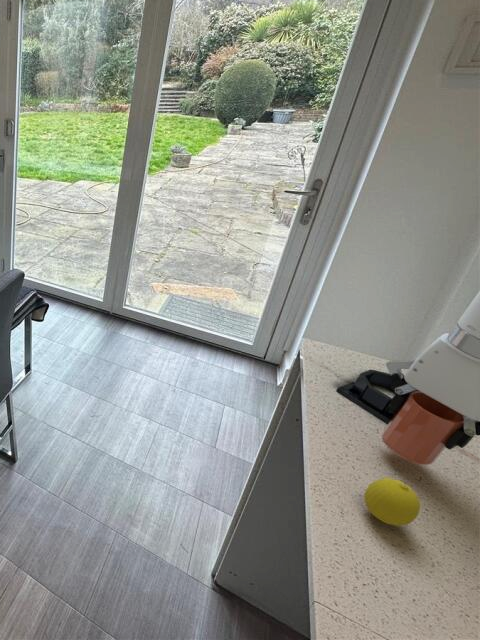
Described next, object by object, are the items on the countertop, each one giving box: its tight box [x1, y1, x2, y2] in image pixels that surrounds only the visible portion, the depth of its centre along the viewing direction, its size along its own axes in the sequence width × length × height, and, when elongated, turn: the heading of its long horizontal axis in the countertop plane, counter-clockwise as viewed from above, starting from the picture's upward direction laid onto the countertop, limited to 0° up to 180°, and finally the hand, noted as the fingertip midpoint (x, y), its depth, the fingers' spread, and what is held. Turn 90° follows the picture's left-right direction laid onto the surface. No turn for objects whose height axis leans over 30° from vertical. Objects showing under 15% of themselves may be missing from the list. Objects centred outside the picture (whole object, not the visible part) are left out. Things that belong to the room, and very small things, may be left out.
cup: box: [380, 391, 464, 466], centre depth 69 cm, size 7×7×10 cm
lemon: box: [363, 477, 421, 527], centre depth 62 cm, size 6×6×8 cm
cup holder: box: [335, 369, 419, 425], centre depth 83 cm, size 11×11×4 cm
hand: (422, 427), depth 69 cm, fingers closed on cup, 6 cm apart
